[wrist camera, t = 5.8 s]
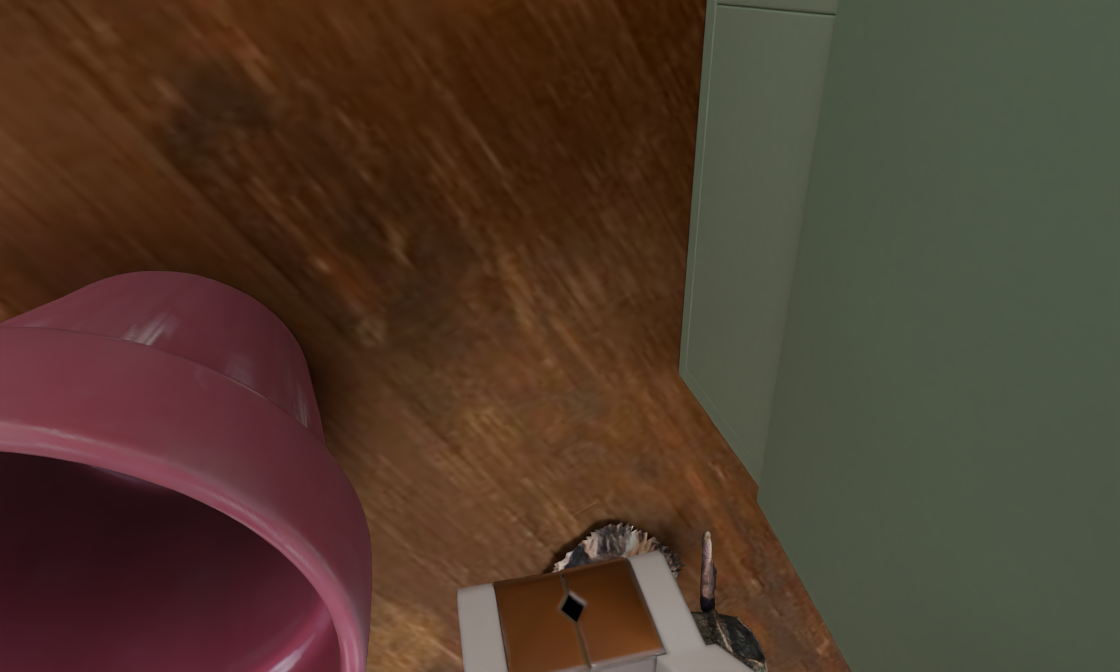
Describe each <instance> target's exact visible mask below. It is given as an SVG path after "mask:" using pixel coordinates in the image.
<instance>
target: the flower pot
mask: <svg viewBox="0 0 1120 672" xmlns="http://www.w3.org/2000/svg"><path fill="white" fill-rule="evenodd" d="M371 594H372V554H371V542H370V535H369V529H368V525H367V521H366V517H365V514H364V511H363V508H362V505H361V503H360V500H359V498H358V496H357V494H356V492H355V490H354V488H353V486H352V485H351V483H350V481H349V479H348V478H347V476H346V475H345V473H344V471H343V470H342V468H341V467H340V465H339V464H338V463H337V461H336V460H335V458H334V457H333V456H332V455H331V453H330V452H329V451H328V450H327V447H326V442H325V437H324V432H323V427H322V422H321V418H320V414H319V410H318V406H317V402H316V398H315V394H314V390H313V386H312V382H311V378H310V373H309V369H308V365H307V362H306V359H305V356H304V354H303V352H302V349H301V347H300V346H299V344H298V342H297V340H296V339H295V337H294V336H293V334H292V333H291V332H290V330H289V329H288V328H287V326H286V325H285V324H284V323H283V322H282V321H281V320H280V319H279V318H278V317H277V316H276V315H275V314H274V313H273V312H272V311H270V310H269V309H268V308H267V307H266V306H264V305H263V304H261V303H260V302H258V301H257V300H255V299H254V298H252V297H251V296H249V295H248V294H246V293H244V292H242V291H240V290H238V289H235V288H233V287H231V286H229V285H226V284H224V283H221V282H218V281H216V280H213V279H209V278H206V277H202V276H199V275H194V274H189V273H182V272H174V271H140V272H130V273H125V274H120V275H116V276H112V277H109V278H105V279H102V280H100V281H97V282H94V283H92V284H89V285H87V286H85V287H83V288H81V289H79V290H77V291H74V292H72V293H70V294H68V295H66V296H64V297H62V298H59V299H57V300H55V301H52V302H50V303H47V304H45V305H42V306H40V307H38V308H35V309H33V310H30V311H28V312H25V313H23V314H21V315H18V316H16V317H13V318H11V319H9V320H6V321H4V322H2V323H0V672H365V671H366V662H367V653H368V642H369V630H370V616H371Z"/></svg>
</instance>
